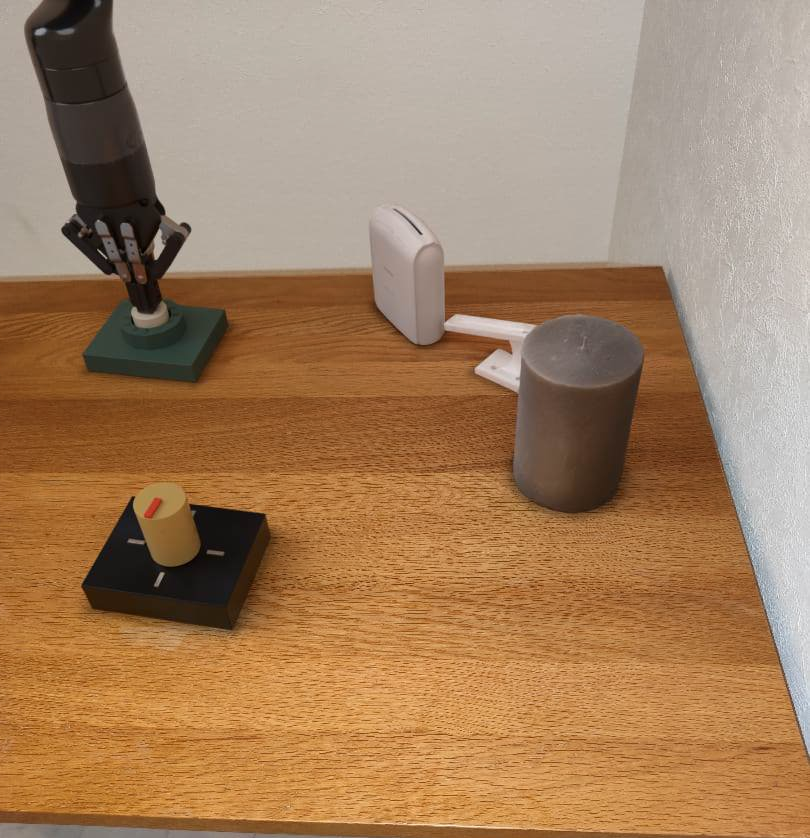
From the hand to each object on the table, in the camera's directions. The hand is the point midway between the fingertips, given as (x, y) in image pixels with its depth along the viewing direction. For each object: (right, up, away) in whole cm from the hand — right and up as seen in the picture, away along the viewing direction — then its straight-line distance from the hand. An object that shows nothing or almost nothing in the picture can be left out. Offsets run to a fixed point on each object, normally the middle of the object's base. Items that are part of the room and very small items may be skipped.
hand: (148, 309), depth 91 cm
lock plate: (+8, -26, -17) cm, 33 cm away
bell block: (0, -3, +4) cm, 5 cm away
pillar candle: (+41, -18, -11) cm, 46 cm away
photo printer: (+27, 0, +5) cm, 27 cm away
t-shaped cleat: (+38, -8, -2) cm, 39 cm away
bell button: (0, -1, +1) cm, 2 cm away
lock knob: (+8, -24, -20) cm, 32 cm away
